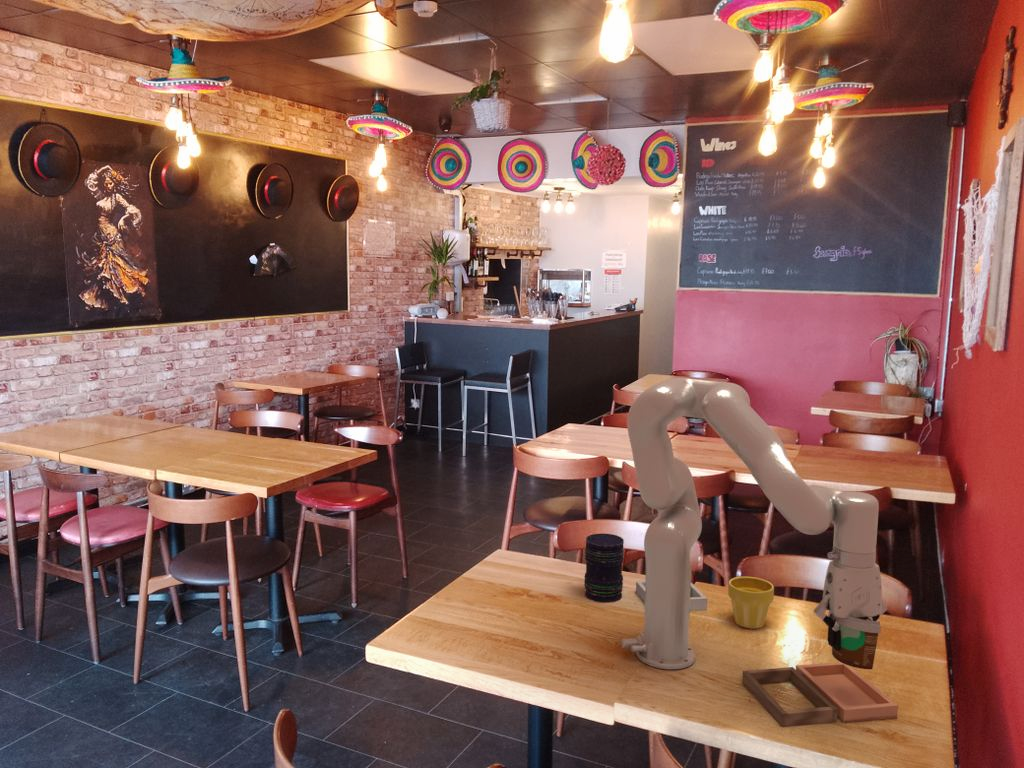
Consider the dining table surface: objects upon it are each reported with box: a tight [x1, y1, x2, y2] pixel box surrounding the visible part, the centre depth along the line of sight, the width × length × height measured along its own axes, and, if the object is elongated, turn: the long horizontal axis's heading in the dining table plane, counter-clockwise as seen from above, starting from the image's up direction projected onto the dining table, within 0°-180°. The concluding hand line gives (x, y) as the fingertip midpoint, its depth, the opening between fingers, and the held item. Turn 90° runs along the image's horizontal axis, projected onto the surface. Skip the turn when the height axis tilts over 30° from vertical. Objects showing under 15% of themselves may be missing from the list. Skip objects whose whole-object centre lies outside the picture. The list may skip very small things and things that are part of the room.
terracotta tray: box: [795, 661, 899, 724], centre depth 153 cm, size 11×17×2 cm, turn 10°
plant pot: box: [727, 576, 775, 630], centre depth 185 cm, size 10×10×10 cm
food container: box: [828, 610, 882, 670], centre depth 151 cm, size 12×6×10 cm, turn 6°
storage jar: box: [583, 533, 625, 604], centre depth 200 cm, size 10×10×15 cm
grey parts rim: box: [635, 580, 708, 612], centre depth 198 cm, size 14×13×3 cm
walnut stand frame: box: [741, 666, 838, 728], centre depth 151 cm, size 11×16×2 cm
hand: (848, 645), depth 152 cm, fingers closed on food container, 5 cm apart
